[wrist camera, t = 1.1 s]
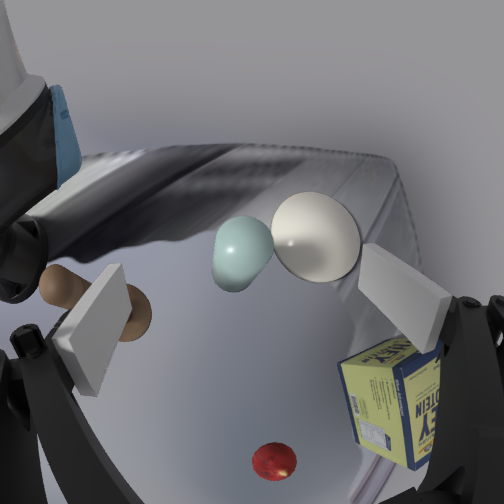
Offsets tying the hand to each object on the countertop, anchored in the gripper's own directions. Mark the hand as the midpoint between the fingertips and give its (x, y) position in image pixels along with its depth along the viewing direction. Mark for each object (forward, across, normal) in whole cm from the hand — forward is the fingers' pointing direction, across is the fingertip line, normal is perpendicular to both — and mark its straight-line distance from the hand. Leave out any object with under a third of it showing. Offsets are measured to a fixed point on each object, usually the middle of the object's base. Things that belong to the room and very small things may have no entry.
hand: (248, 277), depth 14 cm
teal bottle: (+23, 0, -10) cm, 25 cm away
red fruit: (+7, +2, -32) cm, 33 cm away
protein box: (+12, +20, -28) cm, 37 cm away
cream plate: (+27, +14, -7) cm, 31 cm away
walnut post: (+19, -15, -13) cm, 28 cm away
